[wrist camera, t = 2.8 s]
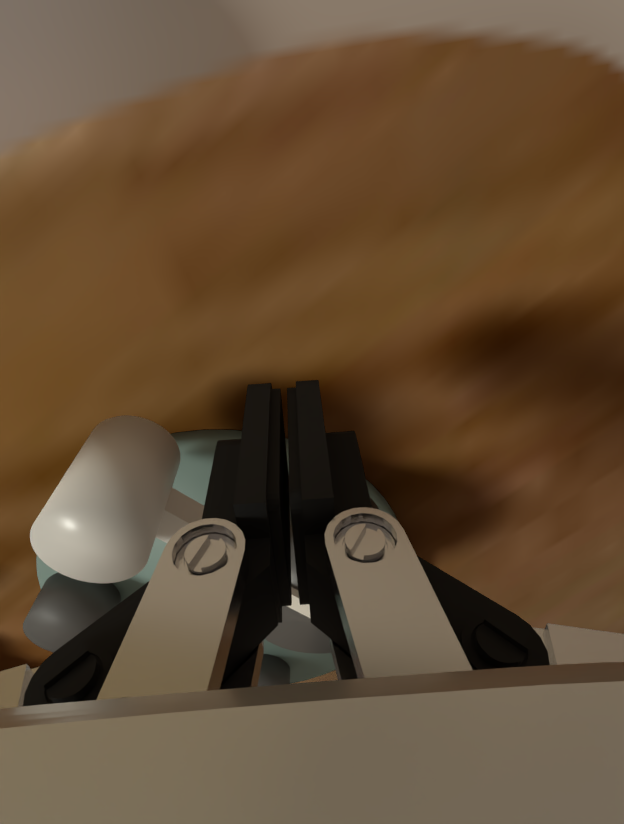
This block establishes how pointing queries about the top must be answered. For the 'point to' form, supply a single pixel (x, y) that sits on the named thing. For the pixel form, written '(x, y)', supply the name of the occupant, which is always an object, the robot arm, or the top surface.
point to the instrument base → (86, 602)
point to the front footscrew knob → (135, 517)
